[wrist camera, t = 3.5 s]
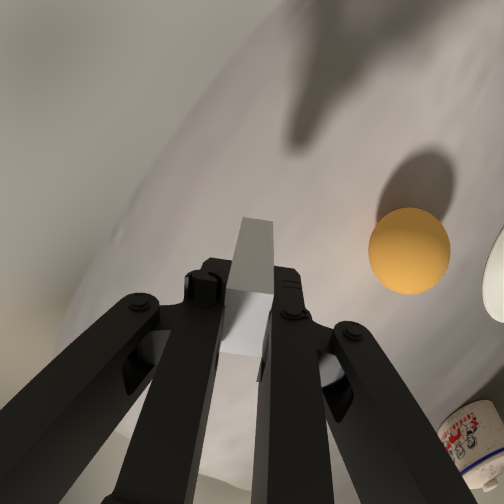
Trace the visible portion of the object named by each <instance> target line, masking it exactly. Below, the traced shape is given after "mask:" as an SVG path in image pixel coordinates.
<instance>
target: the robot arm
mask: <svg viewBox="0 0 504 504" xmlns="http://www.w3.org/2000/svg"><path fill="white" fill-rule="evenodd" d="M219 351H220V352H226V353H233V354H240V355H247V356H255V357H261V354H262V359H261V363H260V368H259V372H258V377H257V381H256V382H259V386H258V403H257V420H256V435H255V451H254V466H253V481H252V496H251V504H334V494H333V483H332V472H331V462H330V452H329V443H328V434H327V425H326V420H327V422H328V425H329V427H330V430H331V432H332V434H333V437H334V439H335V442H336V444H337V446H338V449H339V451H340V454H341V456H342V458H343V461H344V463H345V466H346V468H347V470H348V473H349V475H350V478H351V480H352V483H353V485H354V487H355V490H356V492H357V495H358V497H359V499H360V502H361V504H478V503H477V502H476V500H475V498H474V496H473V494H472V492H471V491H470V489H469V487H468V485H467V484H466V482H465V480H464V478H463V477H462V475H461V473H460V472H459V470H458V468H457V466H456V465H455V463H454V461H453V460H452V458H451V456H450V455H449V453H448V451H447V450H446V448H445V446H444V445H443V443H442V441H441V440H440V438H439V436H438V435H437V433H436V432H435V430H434V428H433V427H432V425H431V424H430V422H429V420H428V419H427V417H426V416H425V414H424V412H423V411H422V409H421V408H420V406H419V405H418V403H417V401H416V400H415V398H414V397H413V395H412V394H411V392H410V391H409V389H408V388H407V386H406V384H405V383H404V381H403V380H402V378H401V377H400V375H399V374H398V372H397V371H396V369H395V368H394V366H393V365H392V363H391V362H390V360H389V359H388V357H387V356H386V354H385V353H384V351H383V350H382V348H381V347H380V346H379V344H378V343H377V341H376V340H375V338H374V337H373V335H372V334H371V332H370V331H369V330H368V329H367V328H366V327H364V326H363V325H361V324H359V323H356V322H353V321H342V322H339V323H337V324H336V325H335V327H334V329H331V328H328V327H325V326H322V325H320V324H317V323H316V322H314V321H313V320H312V316H311V314H310V312H309V311H308V310H307V309H306V308H305V305H304V298H303V291H302V284H301V277H300V275H299V274H298V272H297V271H296V270H295V269H293V268H286V267H279V266H274V250H273V221H266V220H259V219H252V218H246V217H243V218H242V223H241V227H240V231H239V235H238V239H237V244H236V248H235V252H234V256H233V260H232V261H231V260H224V259H217V258H211V257H210V258H209V259H208V260H206V261H205V262H203V265H202V267H201V269H200V270H194V271H191V272H189V273H188V274H187V275H186V276H185V284H184V300H183V302H182V303H179V304H175V305H159V301H158V300H157V298H156V297H154V296H152V295H150V294H147V293H133V294H129V295H127V296H125V297H123V298H122V299H121V300H120V301H118V302H117V303H116V304H115V305H114V306H113V307H112V308H110V309H109V310H108V311H107V312H106V313H105V314H104V315H102V316H101V317H100V318H99V319H98V320H97V321H96V322H94V323H93V324H92V325H91V326H90V327H89V328H88V329H87V330H85V331H84V332H83V333H82V334H81V335H80V336H79V337H78V338H76V339H75V340H74V341H73V342H72V343H71V344H70V345H69V346H68V347H67V348H65V349H64V350H63V351H62V352H61V353H60V354H59V355H58V356H57V357H56V358H55V359H53V360H52V361H51V362H50V363H49V364H48V365H47V366H46V367H45V368H44V369H43V370H42V371H41V372H40V373H39V374H37V375H36V376H35V377H34V378H33V379H32V380H31V381H30V382H29V383H28V384H27V385H26V386H25V387H24V388H23V389H22V390H21V391H20V392H19V393H18V394H17V395H15V397H13V398H12V399H11V400H10V401H9V402H8V403H7V404H6V405H5V406H4V407H3V409H1V410H0V504H58V503H59V502H60V501H61V500H62V498H63V497H64V496H65V494H66V493H67V492H68V490H69V489H70V488H71V486H72V485H73V484H74V482H75V481H76V480H77V478H78V477H79V476H80V474H81V473H82V471H83V470H84V469H85V468H86V466H87V465H88V464H89V462H90V461H91V460H92V458H93V457H94V456H95V454H96V453H97V452H98V450H99V449H100V447H101V446H102V445H103V444H104V442H105V441H106V440H107V439H108V437H109V436H110V435H111V433H112V432H113V431H114V429H115V428H116V427H117V425H118V424H119V423H120V421H121V420H122V419H123V417H124V416H125V415H126V413H127V412H128V411H129V409H130V408H131V407H132V405H133V404H134V403H135V401H136V400H137V399H138V398H139V396H140V395H141V394H142V392H143V391H144V390H145V388H146V387H147V386H148V384H149V383H150V382H151V380H152V379H153V380H152V382H151V385H150V388H149V390H148V393H147V396H146V399H145V401H144V404H143V407H142V410H141V412H140V415H139V418H138V421H137V424H136V427H135V429H134V432H133V435H132V438H131V441H130V444H129V447H128V450H127V453H126V456H125V459H124V462H123V465H122V468H121V471H120V474H119V477H118V480H117V483H116V486H115V488H114V491H113V492H112V494H110V495H108V496H106V497H105V498H104V500H103V501H102V503H101V504H193V499H194V493H195V487H196V482H197V476H198V470H199V465H200V459H201V453H202V448H203V442H204V437H205V431H206V426H207V420H208V415H209V409H210V404H211V398H212V393H213V387H214V382H215V377H216V371H217V366H218V359H219Z"/></svg>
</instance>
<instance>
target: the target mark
mask: <svg viewBox="0 0 504 504" xmlns="http://www.w3.org/2000/svg"><path fill="white" fill-rule="evenodd" d="M482 297H483V302H484V305H485V308H486V310H487V312H488V313H489V314H490V316H491V317H492V318H494V319H495V320H496V321H499V322H502V323H504V227H503V229H502V230H501V232H500V234H499V235H498V237H497V239H496V241H495V243H494V245H493V247H492V249H491V252H490V254H489V257H488V260H487V263H486V267H485V271H484V276H483V283H482Z"/></svg>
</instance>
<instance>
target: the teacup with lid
mask: <svg viewBox="0 0 504 504" xmlns="http://www.w3.org/2000/svg"><path fill="white" fill-rule="evenodd" d="M438 436H439V438H440V440H441V441H442V443H443V445H444V446H445V448H446V450H447V451H448V453H449V455H450V456H451V458H452V460H453V461H454V463H455V465H456V466H457V468H458V470H459V472H460V473H461V475H462V477H463V478H464V480H465V482H466V484H467V485H468V487H469V489H478V488H481V487H483V491H484V492H488V491H490V490H492V489H493V488H495V487H496V486H497V485H498V481H497V479H498V478H499V477H500V476H501V475H502V473H503V472H504V425H503V423H502V421H501V419H500V417H499V415H498V413H497V411H496V409H495V407H494V405H493V403H492V402H491V401H489V400H479V401H475V402H473V403H470V404H468V405H466V406H464V407H462V408H461V409H459V410H458V411H456V412H455V413H453V414H452V415H451V416H450V417H448V418H447V419H446V420H445V421H444V423H443V424H442V425H441V427H440V429H439V431H438Z"/></svg>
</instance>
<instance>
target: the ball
mask: <svg viewBox="0 0 504 504" xmlns="http://www.w3.org/2000/svg"><path fill="white" fill-rule="evenodd" d="M368 251H369V260H370V264H371V267H372V270H373V272H374V274H375V275H376V277H377V278H378V279H379V281H380V282H381V283H382V284H383V285H385V286H386V287H387V288H389V289H391V290H393V291H395V292H398V293H402V294H417V293H421V292H424V291H426V290H428V289H430V288H431V287H433V286H434V285H435V284H436V283H437V282H438V281H439V280H440V279H441V278H442V276H443V275H444V273H445V272H446V269H447V267H448V264H449V259H450V242H449V238H448V235H447V233H446V231H445V229H444V227H443V225H442V224H441V223H440V222H439V220H438V219H437V218H436V217H434V216H433V215H432V214H430V213H429V212H427V211H425V210H422V209H418V208H400V209H397V210H394V211H392V212H390V213H389V214H387V215H386V216H384V217H383V218H382V219H381V220H380V221H379V223H378V224H377V225H376V227H375V228H374V230H373V232H372V234H371V237H370V241H369V249H368Z"/></svg>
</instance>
